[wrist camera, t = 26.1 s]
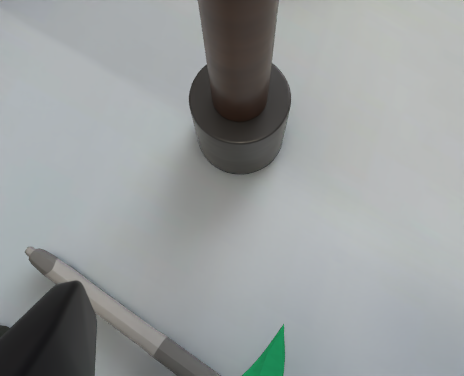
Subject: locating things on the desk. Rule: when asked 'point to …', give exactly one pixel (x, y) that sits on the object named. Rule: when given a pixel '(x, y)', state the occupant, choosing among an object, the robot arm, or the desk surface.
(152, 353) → the pen
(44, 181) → the desk surface
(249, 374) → the knife
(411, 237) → the desk surface
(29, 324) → the robot arm
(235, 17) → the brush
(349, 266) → the desk surface
